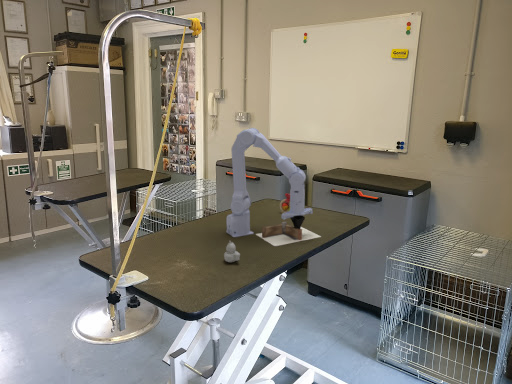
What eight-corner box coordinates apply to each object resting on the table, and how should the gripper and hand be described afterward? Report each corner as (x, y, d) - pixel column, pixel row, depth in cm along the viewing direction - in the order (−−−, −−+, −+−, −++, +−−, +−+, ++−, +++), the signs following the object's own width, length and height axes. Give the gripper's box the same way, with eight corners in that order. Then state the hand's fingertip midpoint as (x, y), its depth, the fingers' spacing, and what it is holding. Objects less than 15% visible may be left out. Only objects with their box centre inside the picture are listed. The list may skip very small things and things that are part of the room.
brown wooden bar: (284, 233, 167) (284, 224, 166) (287, 233, 168) (287, 224, 167) (299, 239, 160) (299, 230, 159) (302, 238, 161) (302, 229, 160)
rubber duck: (230, 257, 145) (229, 236, 143) (244, 261, 141) (244, 239, 139) (220, 262, 140) (219, 240, 139) (234, 266, 137) (234, 244, 135)
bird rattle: (281, 219, 196) (297, 214, 191) (272, 198, 195) (288, 192, 191) (286, 216, 201) (302, 211, 196) (278, 195, 201) (293, 190, 196)
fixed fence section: (263, 238, 163) (263, 226, 162) (261, 236, 164) (261, 225, 163) (287, 233, 168) (287, 222, 167) (285, 232, 170) (285, 221, 169)
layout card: (274, 247, 154) (274, 245, 154) (255, 235, 168) (255, 233, 168) (321, 237, 164) (321, 236, 164) (299, 226, 178) (299, 225, 178)
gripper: (289, 205, 153) (289, 239, 156) (317, 200, 161) (317, 232, 164) (278, 201, 159) (278, 234, 162) (306, 196, 167) (306, 227, 170)
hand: (297, 233), depth 164 cm, fingers closed
